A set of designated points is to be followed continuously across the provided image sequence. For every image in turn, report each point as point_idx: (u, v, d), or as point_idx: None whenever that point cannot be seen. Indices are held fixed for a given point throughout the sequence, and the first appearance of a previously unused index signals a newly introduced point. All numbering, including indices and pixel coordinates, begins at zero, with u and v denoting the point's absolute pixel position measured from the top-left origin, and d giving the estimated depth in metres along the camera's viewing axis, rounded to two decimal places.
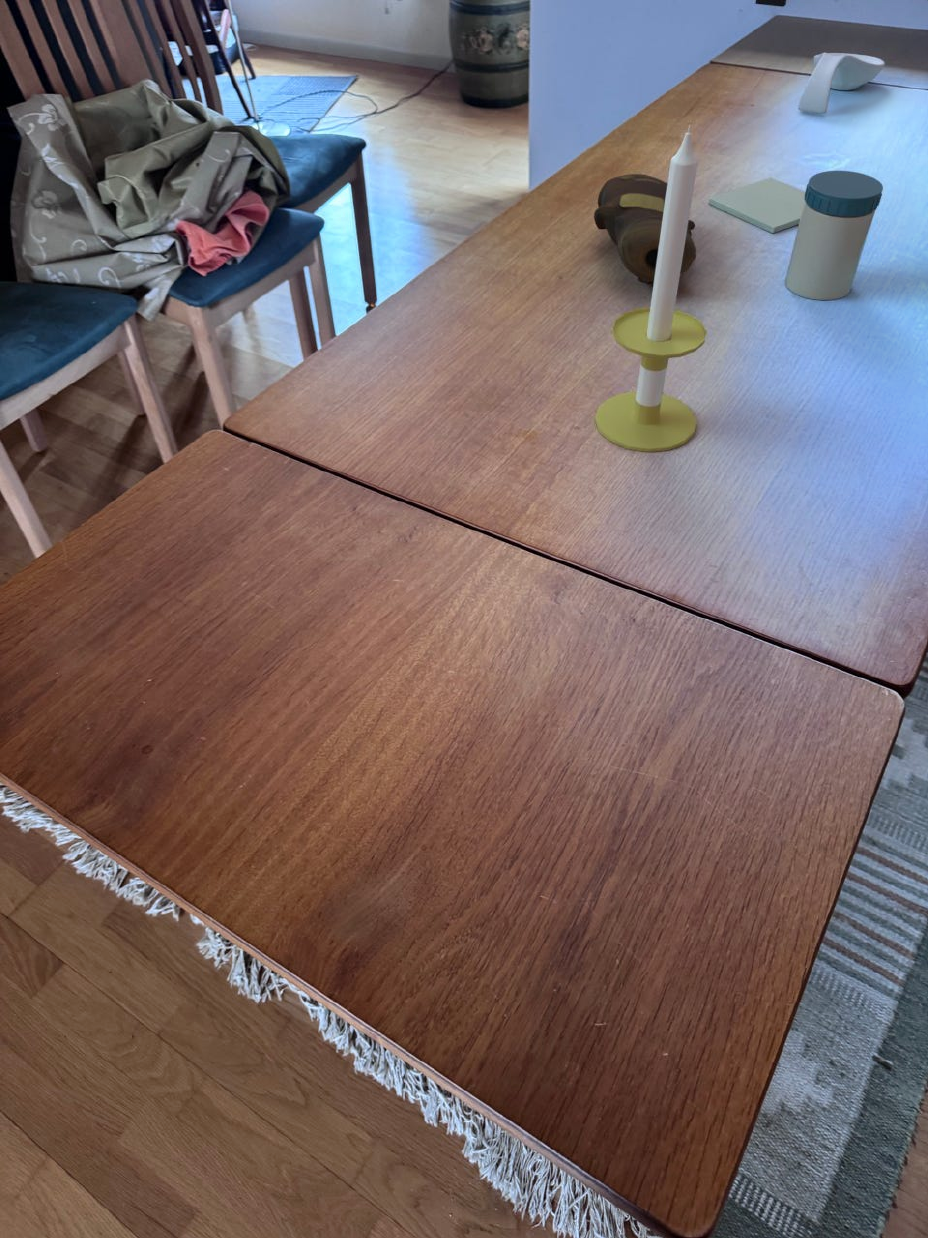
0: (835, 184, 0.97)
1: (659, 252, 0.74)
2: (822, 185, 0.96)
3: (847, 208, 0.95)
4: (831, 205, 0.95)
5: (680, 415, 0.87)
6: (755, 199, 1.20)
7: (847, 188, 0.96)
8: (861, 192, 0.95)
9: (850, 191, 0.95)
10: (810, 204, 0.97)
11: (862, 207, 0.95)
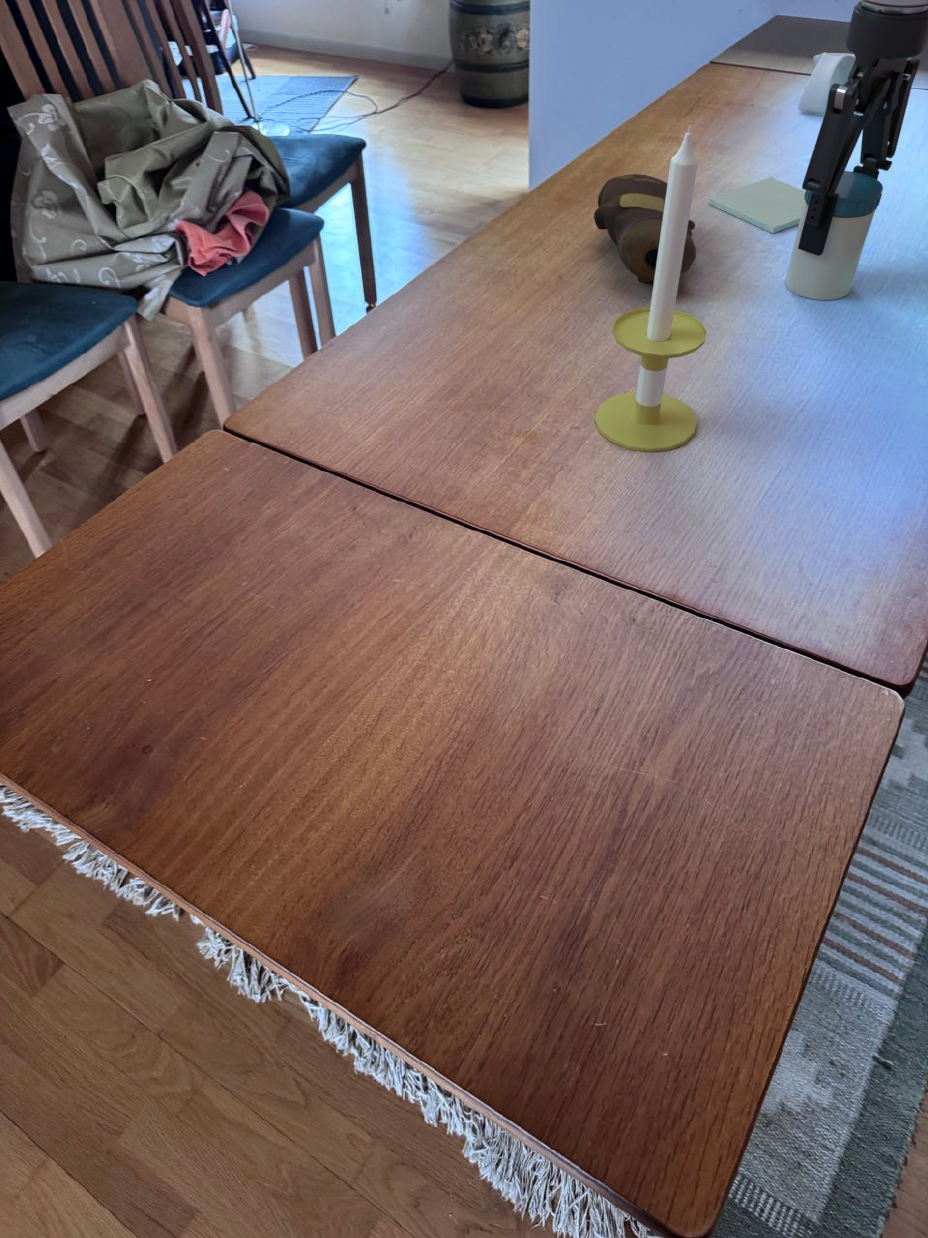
0: None
1: (659, 252, 0.74)
2: None
3: (847, 208, 0.95)
4: None
5: (680, 415, 0.87)
6: (755, 199, 1.20)
7: (847, 188, 0.96)
8: (861, 192, 0.95)
9: (850, 191, 0.95)
10: None
11: (862, 207, 0.95)
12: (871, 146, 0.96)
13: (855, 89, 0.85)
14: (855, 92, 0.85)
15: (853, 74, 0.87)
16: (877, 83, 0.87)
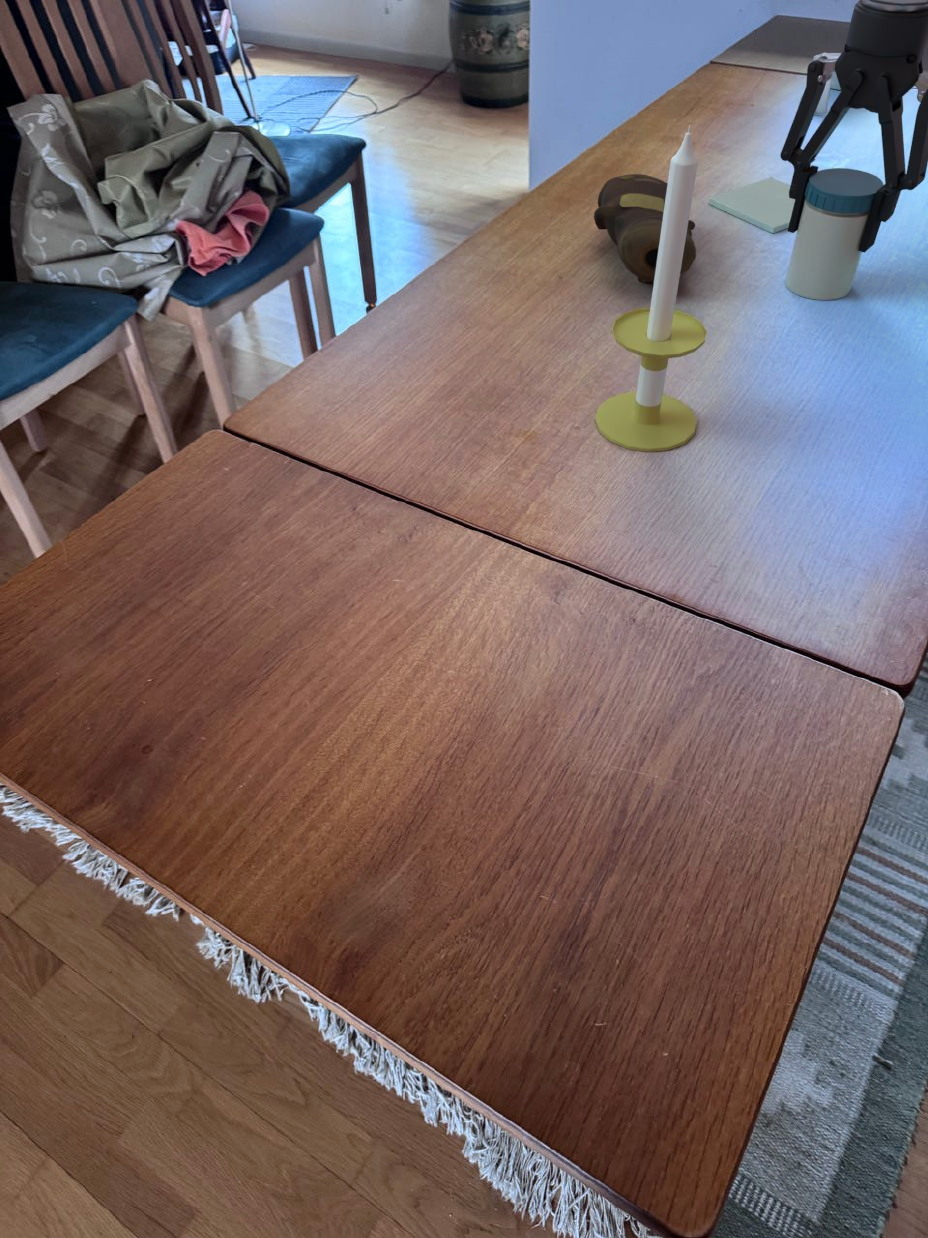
0: (850, 185, 0.96)
1: (659, 252, 0.74)
2: (858, 190, 0.95)
3: None
4: None
5: (680, 415, 0.87)
6: (755, 199, 1.20)
7: (857, 181, 0.96)
8: (863, 176, 0.97)
9: (864, 180, 0.96)
10: (866, 209, 0.95)
11: None
12: (820, 146, 0.96)
13: None
14: None
15: None
16: None
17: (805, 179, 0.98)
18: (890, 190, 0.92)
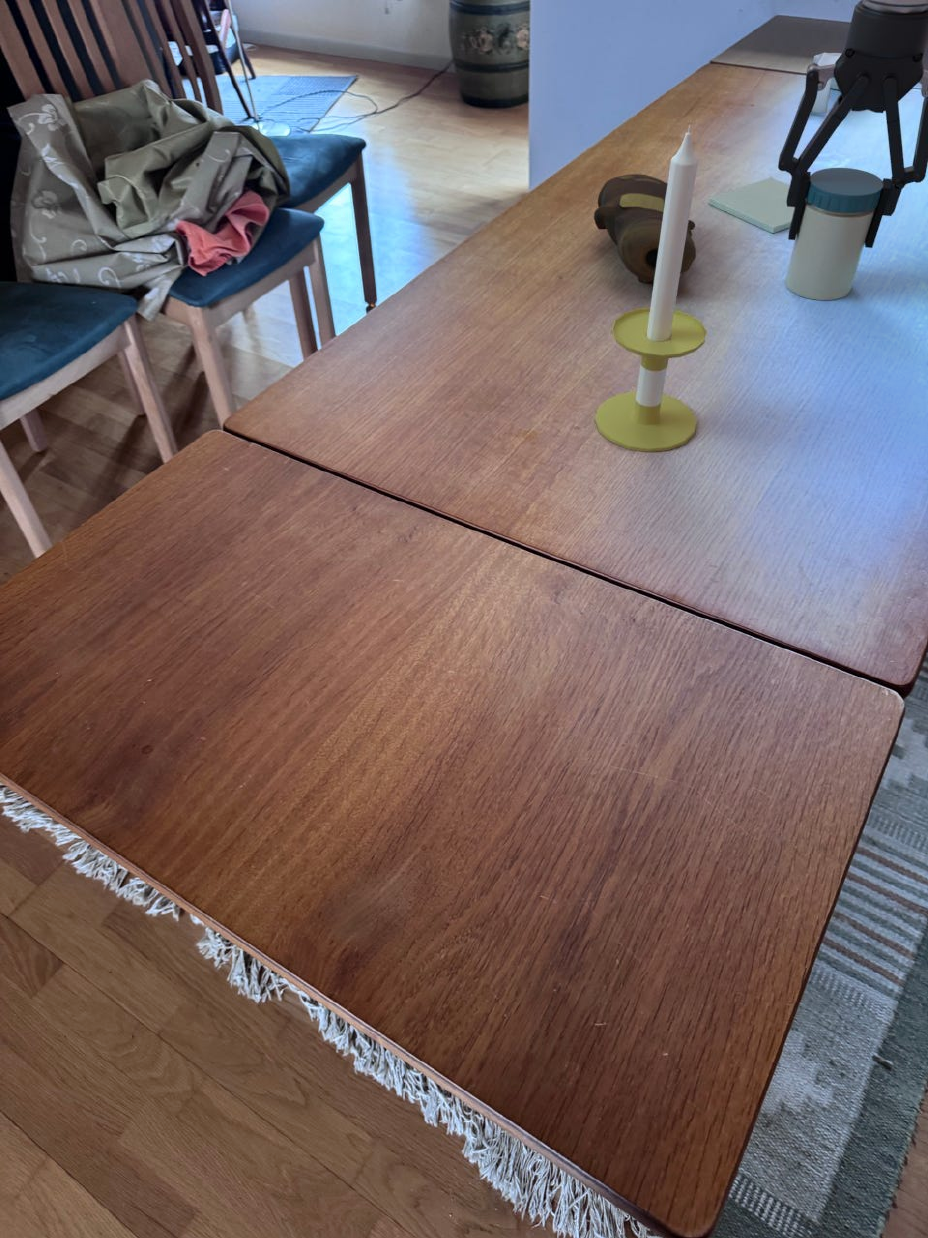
0: (854, 184, 0.96)
1: (659, 252, 0.74)
2: (865, 188, 0.95)
3: None
4: None
5: (680, 415, 0.87)
6: (755, 199, 1.20)
7: (855, 179, 0.97)
8: (855, 173, 0.98)
9: (860, 177, 0.97)
10: (875, 205, 0.96)
11: None
12: None
13: None
14: None
15: None
16: None
17: (807, 186, 0.97)
18: (901, 185, 0.93)
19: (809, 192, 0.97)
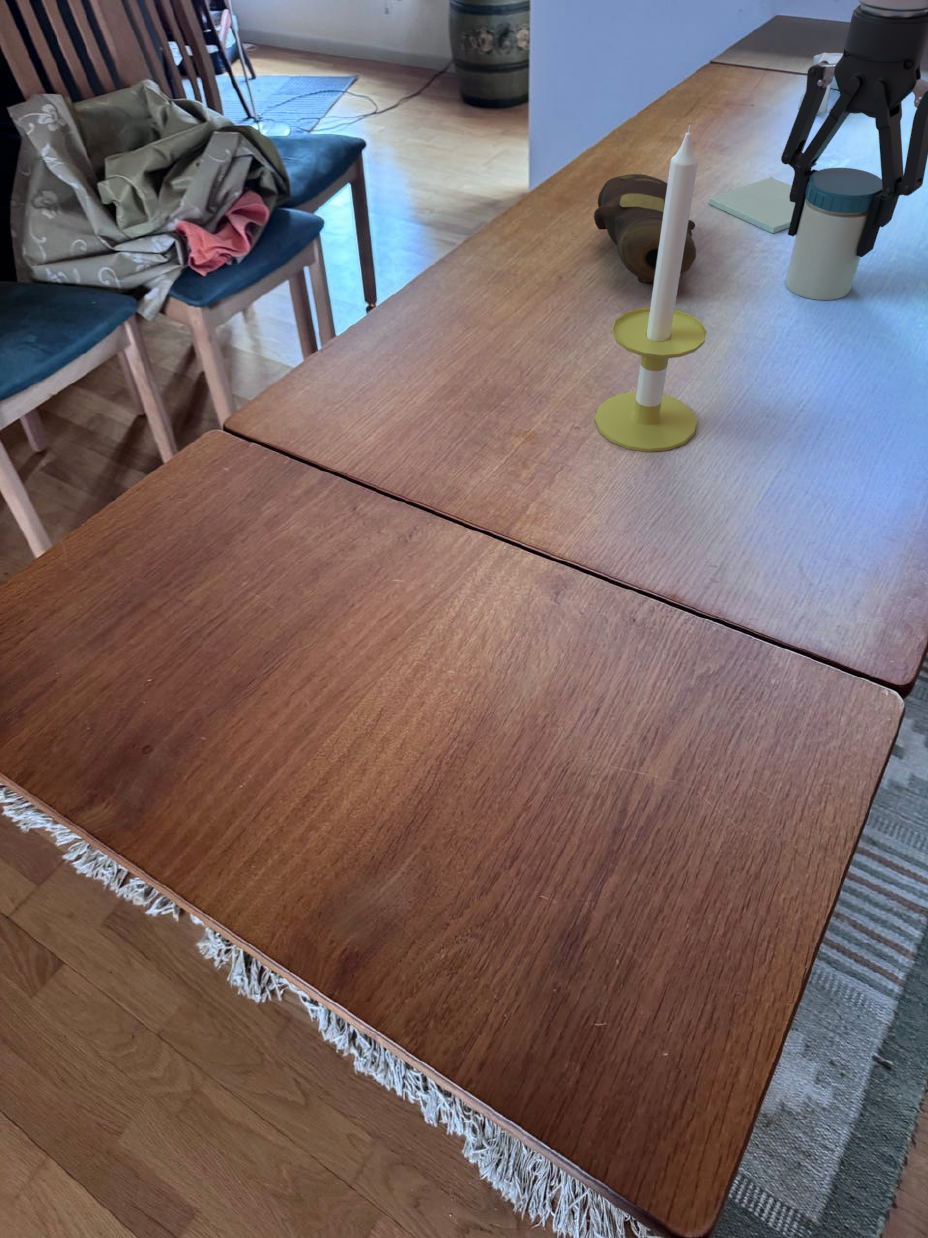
0: (856, 180, 0.96)
1: (659, 252, 0.74)
2: (869, 179, 0.96)
3: None
4: None
5: (680, 415, 0.87)
6: (755, 199, 1.20)
7: (844, 176, 0.97)
8: (830, 173, 0.98)
9: (840, 173, 0.98)
10: None
11: None
12: (820, 150, 0.96)
13: None
14: None
15: (914, 78, 0.86)
16: None
17: (805, 183, 0.98)
18: (887, 195, 0.93)
19: (841, 203, 0.95)
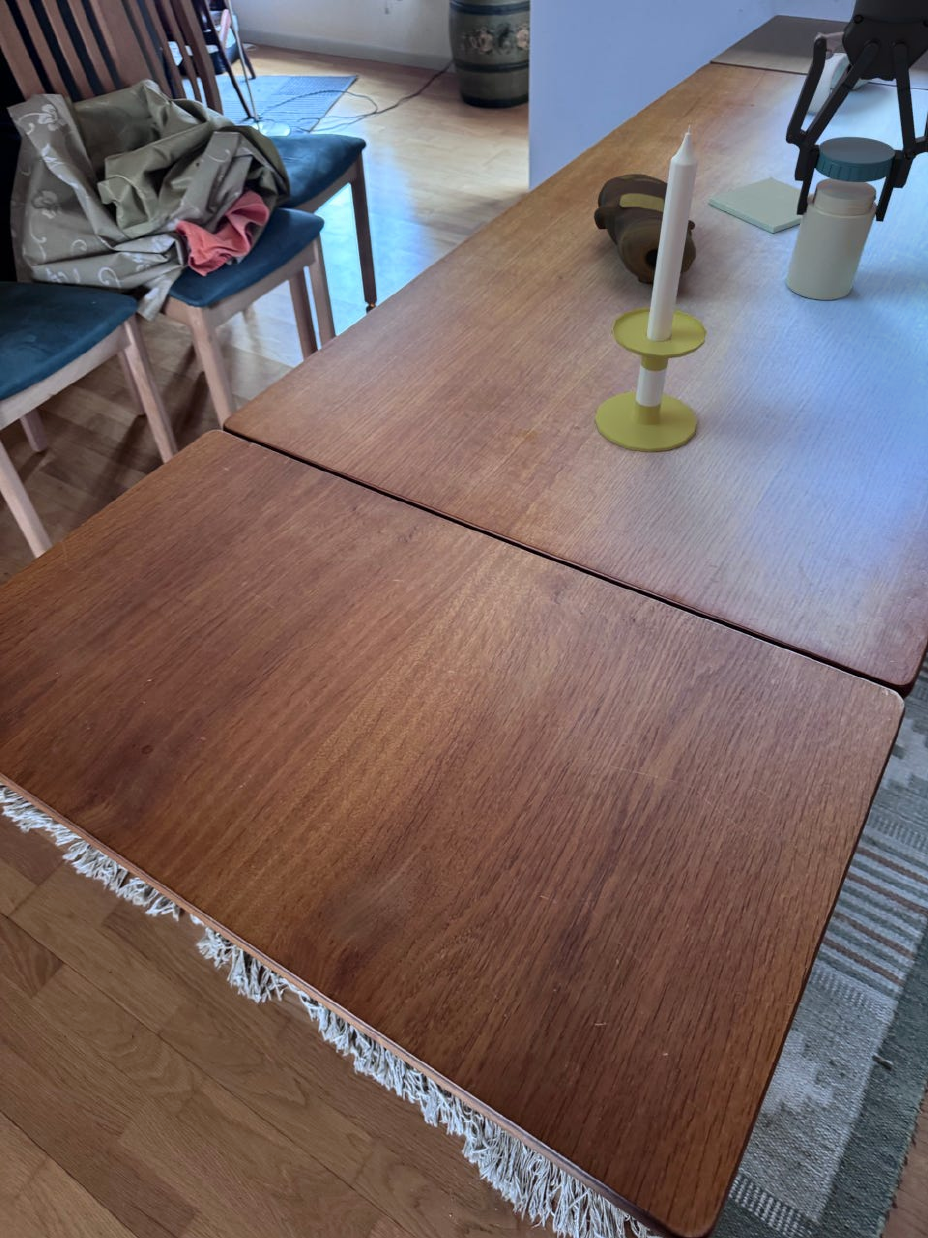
0: (864, 147, 0.94)
1: (659, 252, 0.74)
2: (872, 143, 0.95)
3: None
4: None
5: (680, 415, 0.87)
6: (755, 199, 1.20)
7: (849, 145, 0.95)
8: (833, 145, 0.95)
9: (843, 143, 0.95)
10: None
11: None
12: None
13: None
14: None
15: None
16: None
17: (815, 159, 0.94)
18: (912, 156, 0.91)
19: (869, 172, 0.92)
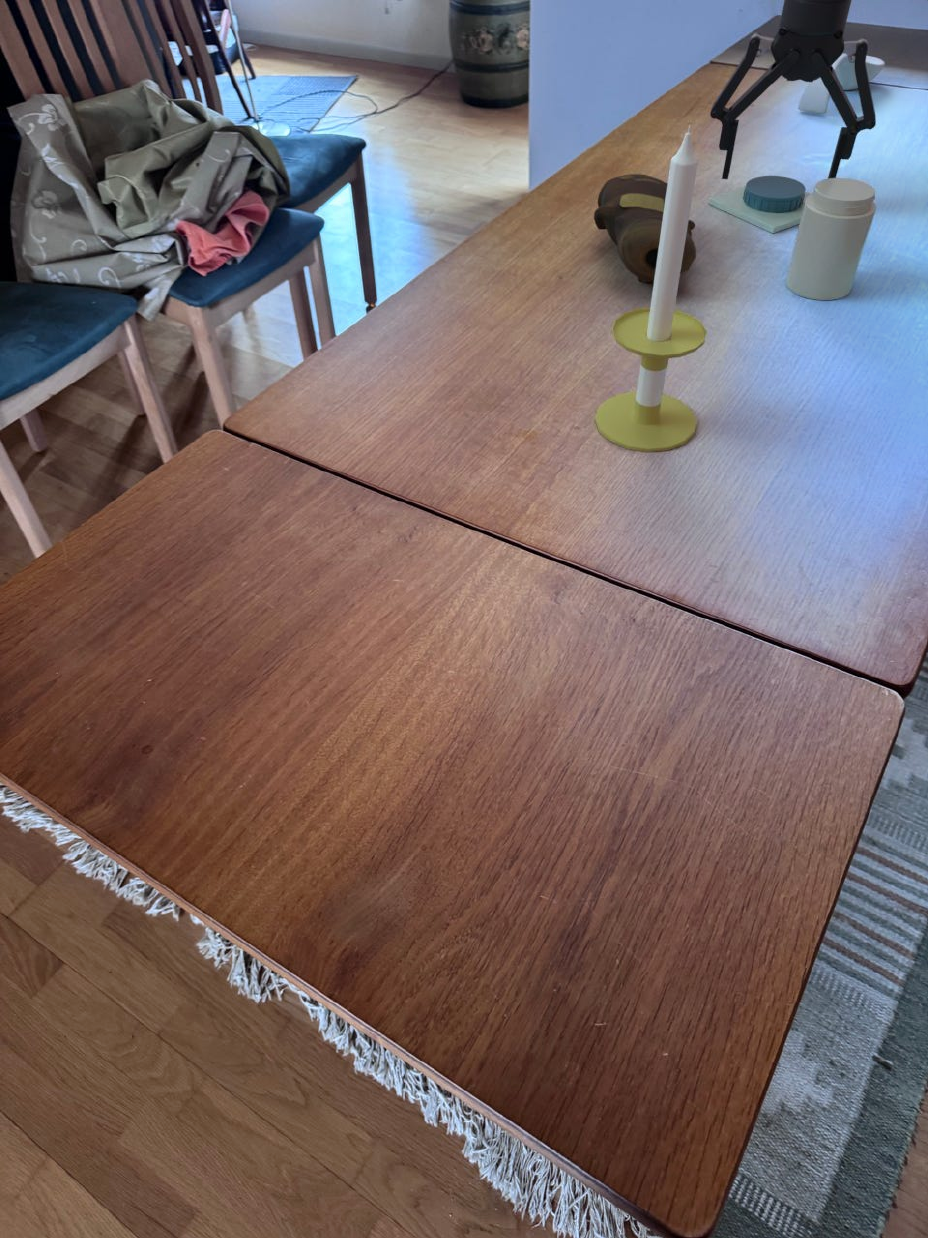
0: (781, 184, 1.19)
1: (659, 252, 0.74)
2: (789, 181, 1.19)
3: None
4: None
5: (680, 415, 0.87)
6: None
7: (770, 183, 1.19)
8: (757, 182, 1.19)
9: (765, 181, 1.20)
10: None
11: None
12: None
13: (863, 37, 1.05)
14: None
15: None
16: None
17: (735, 131, 1.14)
18: (855, 131, 1.09)
19: (784, 205, 1.16)
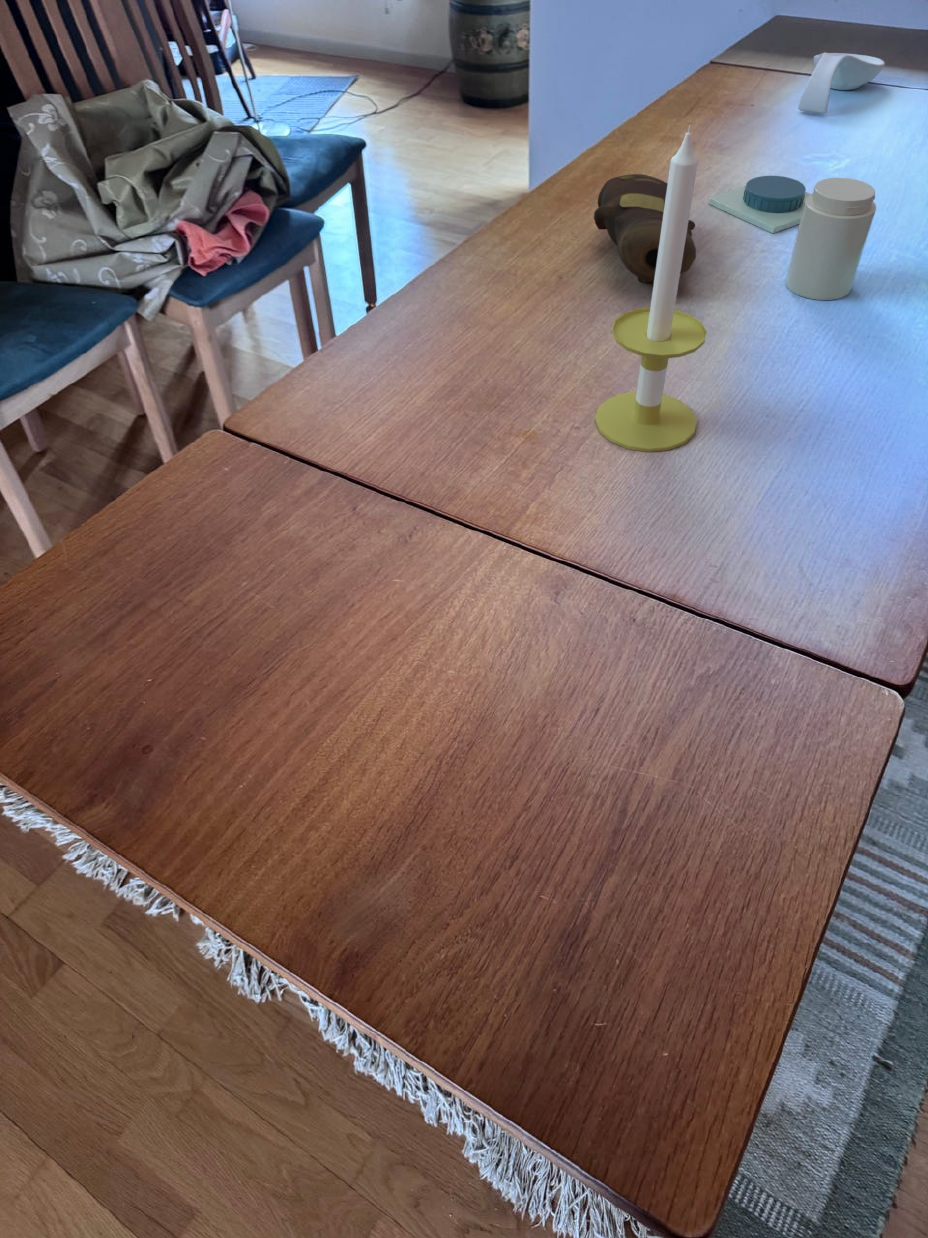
0: (781, 184, 1.19)
1: (659, 252, 0.74)
2: (789, 181, 1.19)
3: None
4: None
5: (680, 415, 0.87)
6: None
7: (770, 183, 1.19)
8: (757, 182, 1.19)
9: (765, 181, 1.20)
10: None
11: None
12: None
13: None
14: None
15: None
16: None
17: None
18: None
19: (784, 205, 1.16)
